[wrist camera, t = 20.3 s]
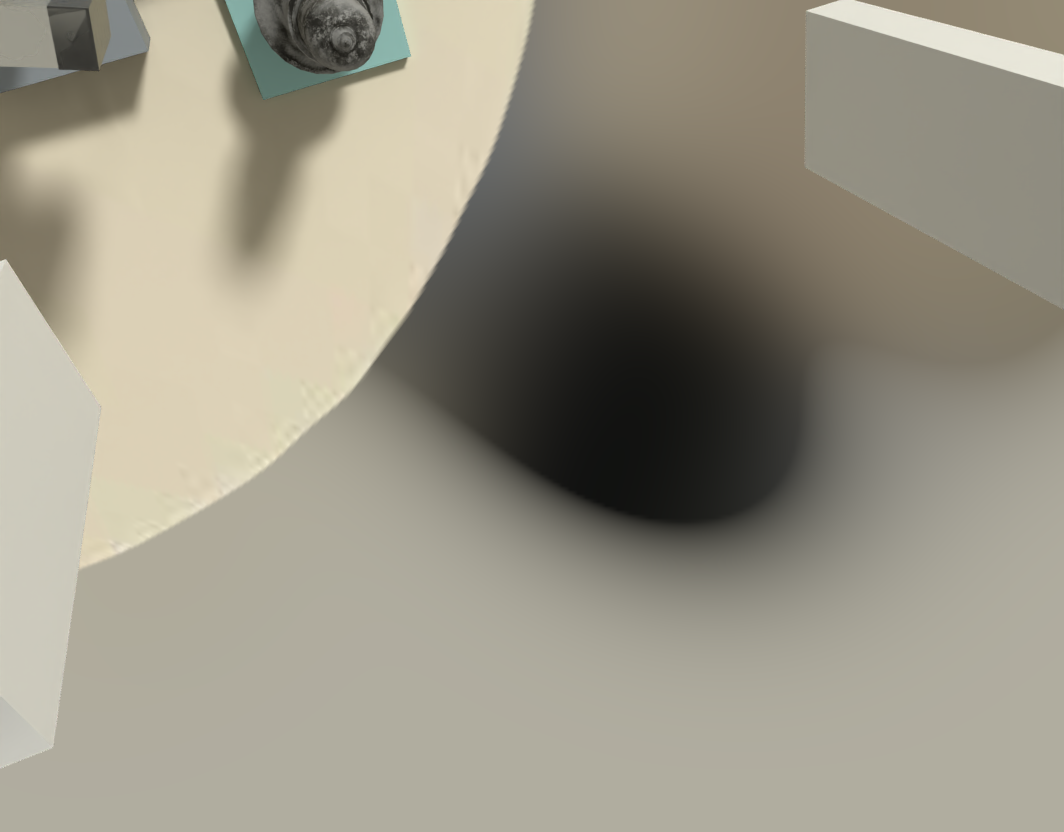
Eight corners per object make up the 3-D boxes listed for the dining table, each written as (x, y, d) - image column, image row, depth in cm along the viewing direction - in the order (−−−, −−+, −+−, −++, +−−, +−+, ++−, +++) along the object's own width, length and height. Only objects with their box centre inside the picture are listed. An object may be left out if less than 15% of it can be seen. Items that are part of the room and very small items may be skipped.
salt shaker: (328, 82, 44) (367, 151, 35) (224, 6, 41) (236, 59, 31) (394, -16, 43) (452, 28, 33) (291, -104, 39) (324, -83, 30)
